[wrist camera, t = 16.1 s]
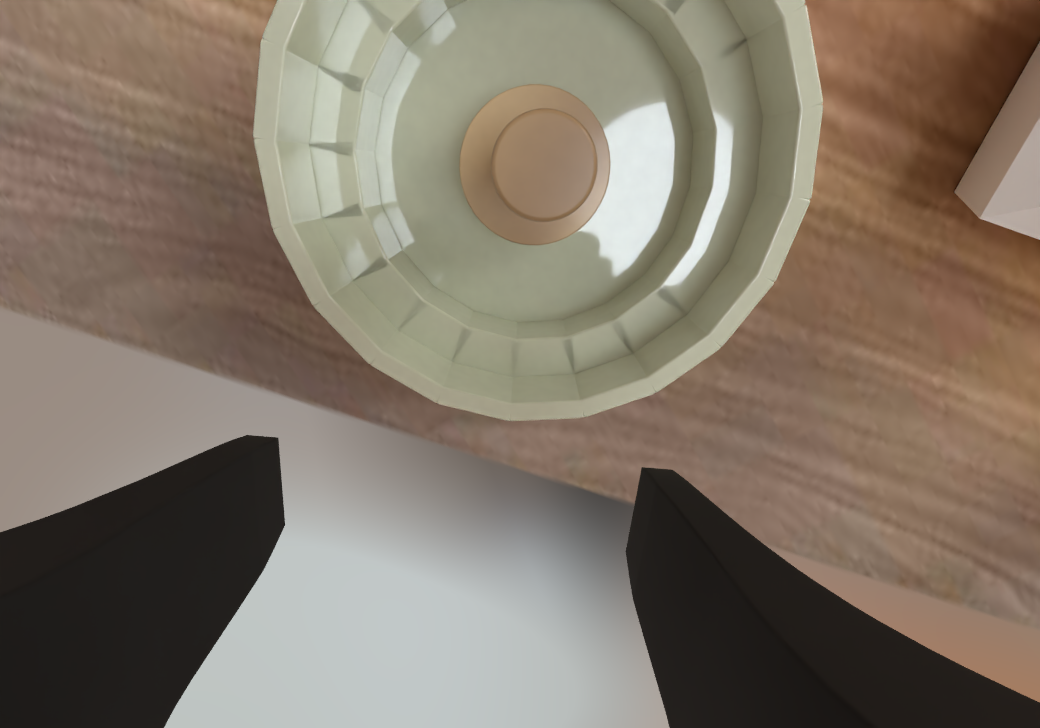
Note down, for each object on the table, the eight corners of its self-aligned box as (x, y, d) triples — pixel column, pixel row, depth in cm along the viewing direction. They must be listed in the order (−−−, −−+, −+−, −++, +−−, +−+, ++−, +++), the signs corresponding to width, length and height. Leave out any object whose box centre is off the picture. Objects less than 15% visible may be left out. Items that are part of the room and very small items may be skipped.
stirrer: (443, 189, 18) (344, 212, 8) (513, 65, 17) (497, -86, 7) (551, 260, 19) (580, 360, 9) (626, 147, 17) (757, 118, 8)
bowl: (258, 231, 19) (171, 252, 14) (461, -204, 15) (431, -378, 10) (582, 426, 22) (598, 497, 17) (832, 101, 17) (946, 75, 13)
